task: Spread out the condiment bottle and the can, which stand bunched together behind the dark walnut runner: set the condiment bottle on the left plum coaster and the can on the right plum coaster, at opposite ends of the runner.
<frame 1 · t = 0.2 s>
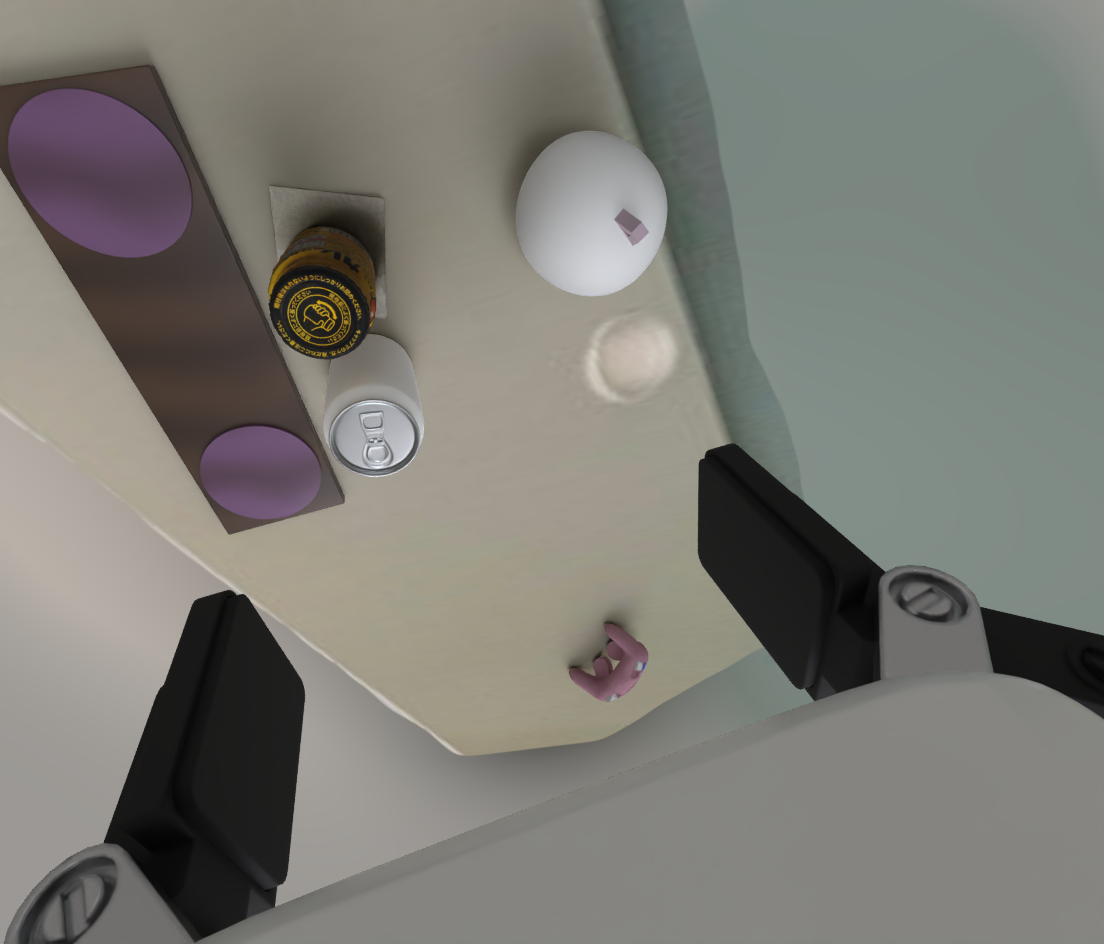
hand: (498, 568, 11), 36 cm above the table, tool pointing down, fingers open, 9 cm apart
runner: (200, 344, 41), on the table
can: (372, 369, 45), on the table
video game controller: (601, 648, 73), on the table
ornament: (567, 208, 43), on the table
condiment: (332, 256, 40), on the table
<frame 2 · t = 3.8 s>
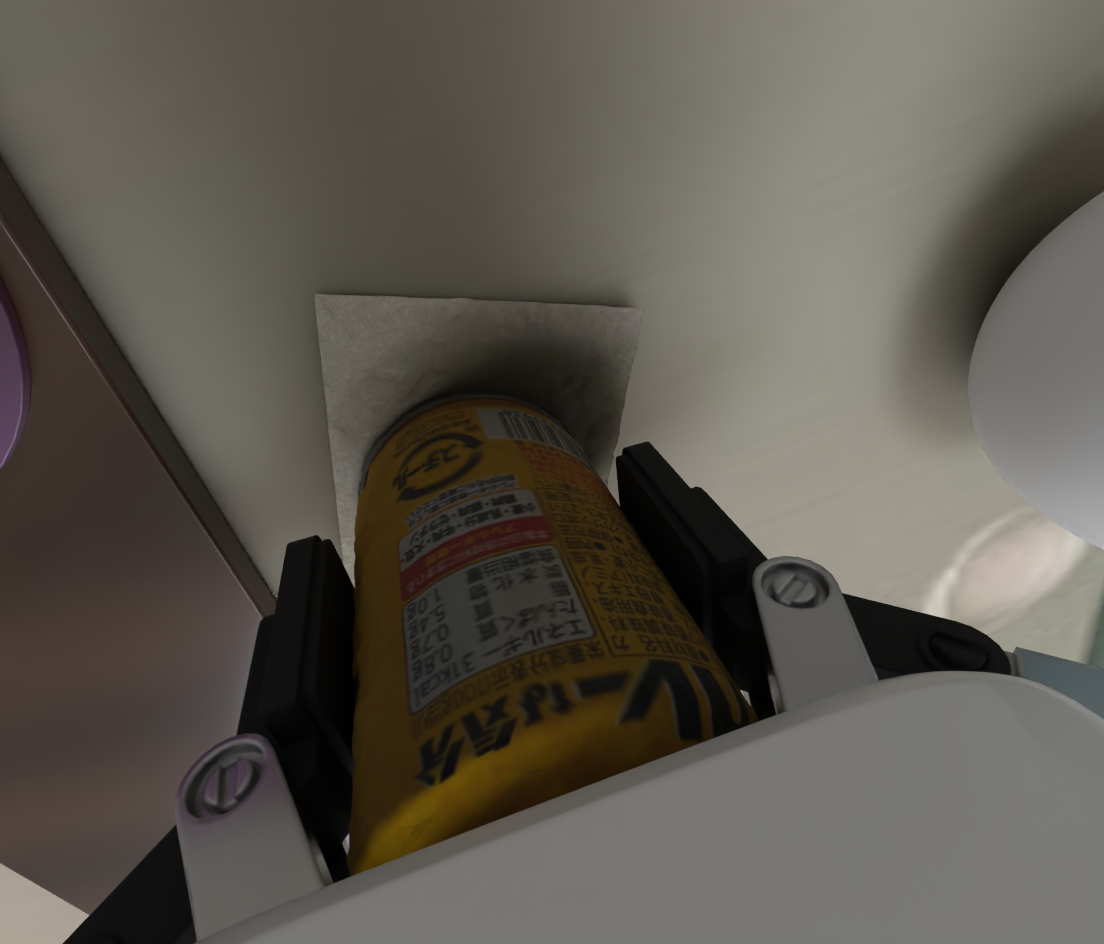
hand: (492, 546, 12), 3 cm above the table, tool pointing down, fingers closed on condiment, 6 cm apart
runner: (109, 690, 15), on the table
ornament: (1028, 304, 17), on the table
condiment: (480, 457, 15), on the table, touching gripper
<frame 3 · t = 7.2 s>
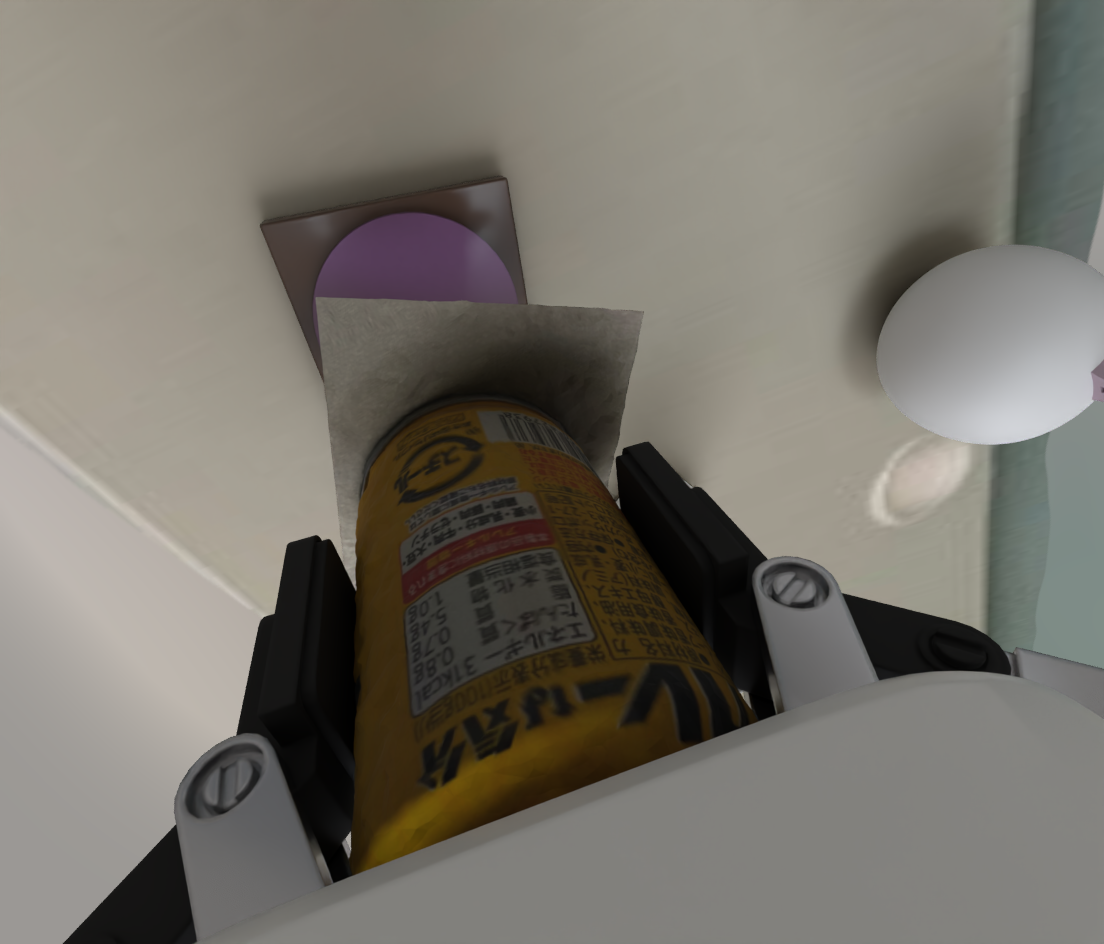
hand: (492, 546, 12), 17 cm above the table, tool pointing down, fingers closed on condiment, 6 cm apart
runner: (470, 499, 32), on the table
ornament: (910, 319, 34), on the table
condiment: (480, 459, 15), point 14 cm above the table, touching gripper
when the fingers open (5 cm above the table, at t = 10.5 s): condiment stays where it is, resting on runner.
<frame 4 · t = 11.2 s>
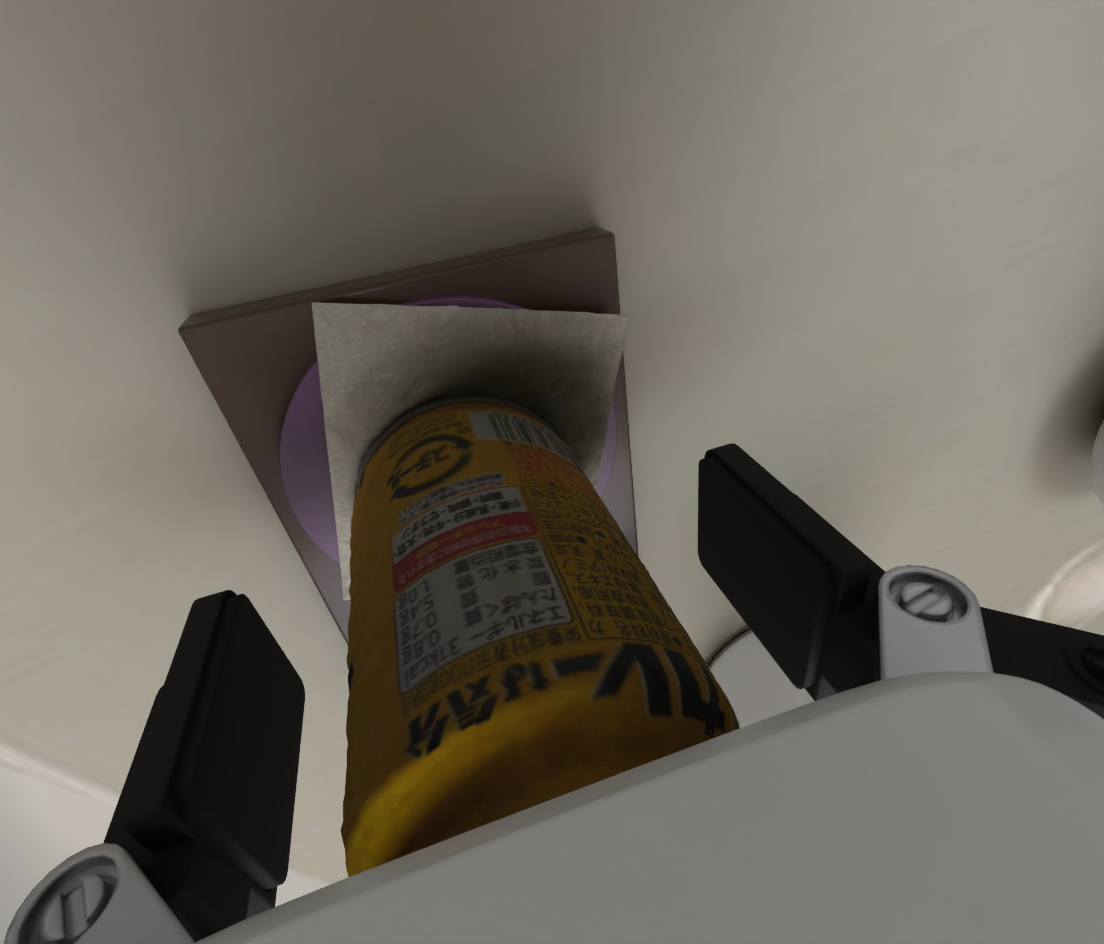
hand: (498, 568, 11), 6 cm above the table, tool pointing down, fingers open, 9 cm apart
runner: (521, 675, 22), on the table
can: (755, 660, 27), on the table
condiment: (472, 459, 15), point 1 cm above the table, touching runner
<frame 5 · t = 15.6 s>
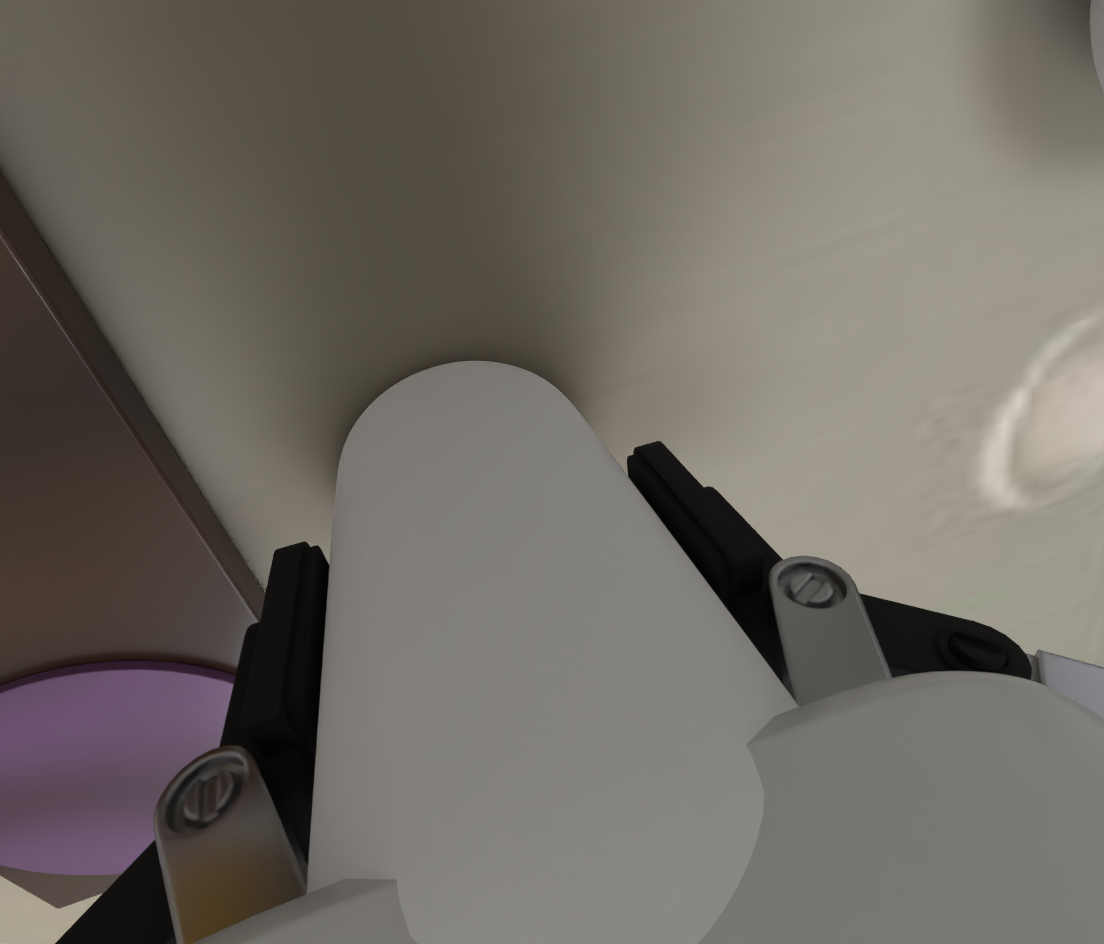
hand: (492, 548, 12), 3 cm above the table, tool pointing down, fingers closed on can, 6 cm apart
can: (468, 468, 15), on the table, touching gripper
when the fingers open (4 cm above the table, at t = 22.4 s): can stays where it is, resting on runner.
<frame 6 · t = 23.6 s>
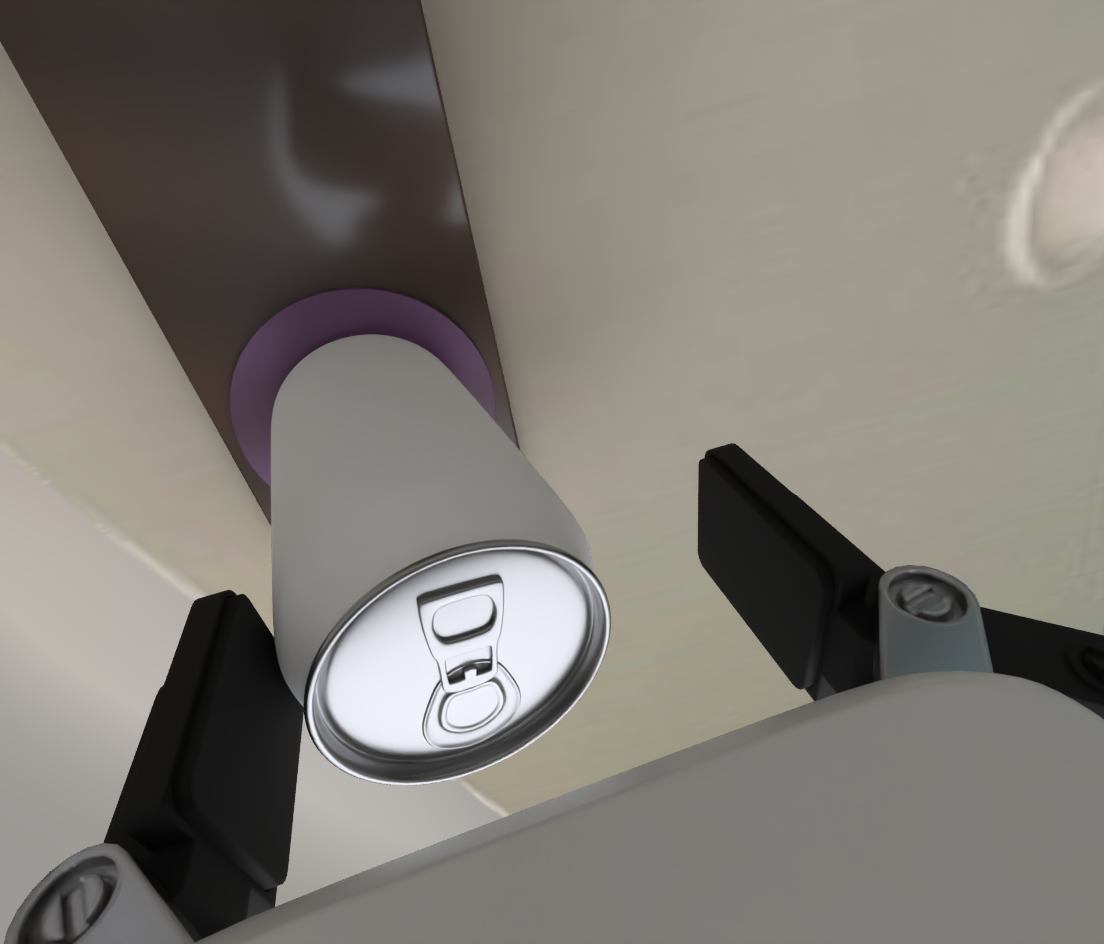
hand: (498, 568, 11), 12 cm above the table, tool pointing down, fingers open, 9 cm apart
runner: (235, 39, 15), on the table
can: (372, 420, 20), point 2 cm above the table, touching gripper, runner
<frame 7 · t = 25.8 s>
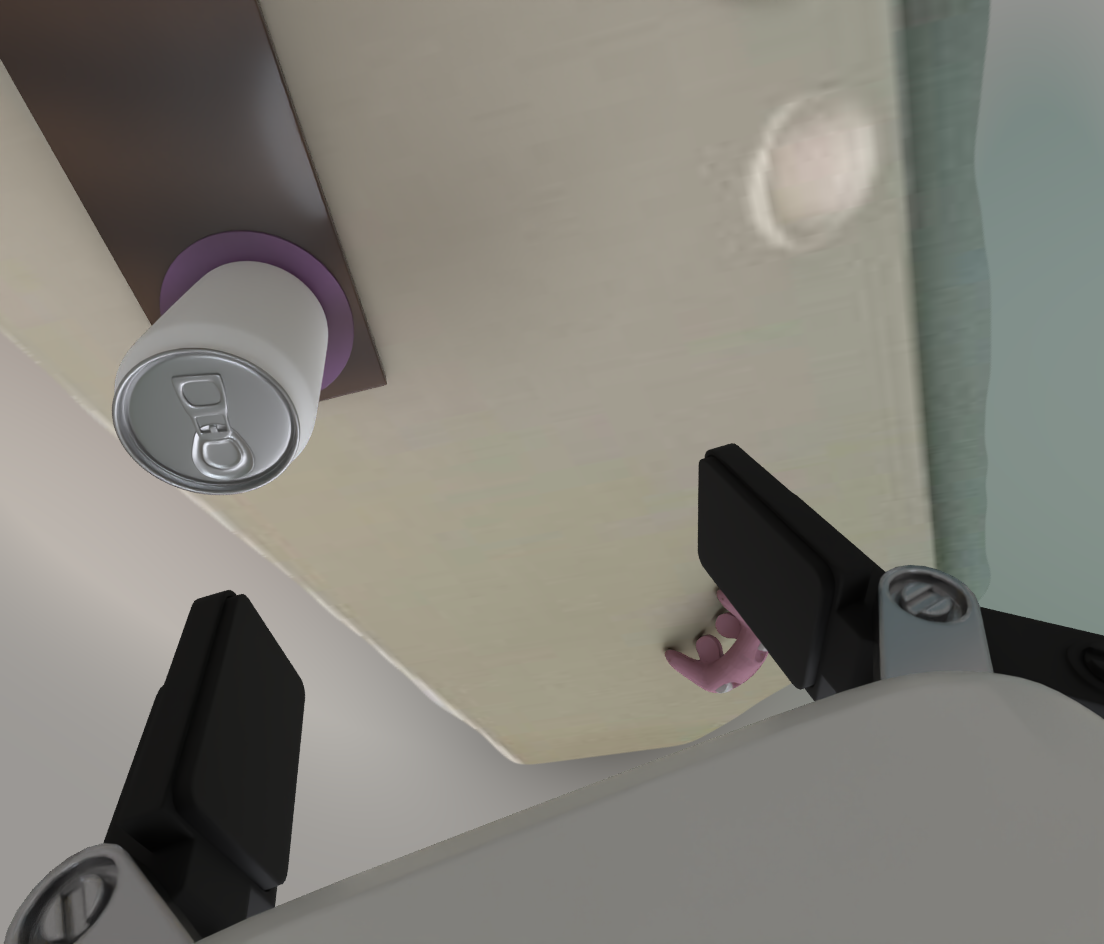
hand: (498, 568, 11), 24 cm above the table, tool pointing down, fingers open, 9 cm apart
runner: (154, 67, 24), on the table
can: (262, 322, 29), point 1 cm above the table, touching runner
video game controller: (706, 623, 56), on the table
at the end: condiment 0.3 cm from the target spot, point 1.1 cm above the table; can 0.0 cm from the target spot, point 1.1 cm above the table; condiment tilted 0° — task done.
